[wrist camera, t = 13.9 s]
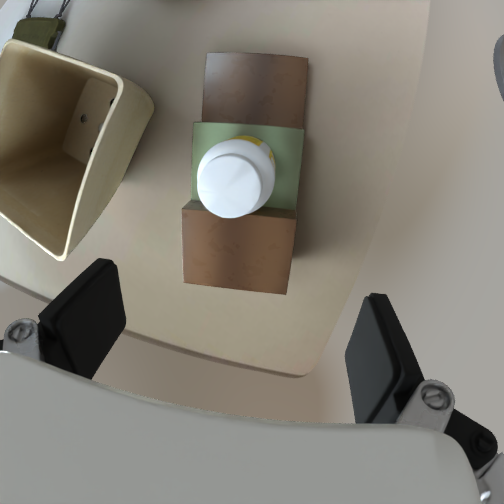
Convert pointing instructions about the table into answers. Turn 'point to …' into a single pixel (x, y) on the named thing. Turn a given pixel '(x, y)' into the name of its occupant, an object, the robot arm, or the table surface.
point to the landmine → (40, 29)
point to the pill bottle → (236, 176)
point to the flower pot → (63, 142)
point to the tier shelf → (266, 226)
